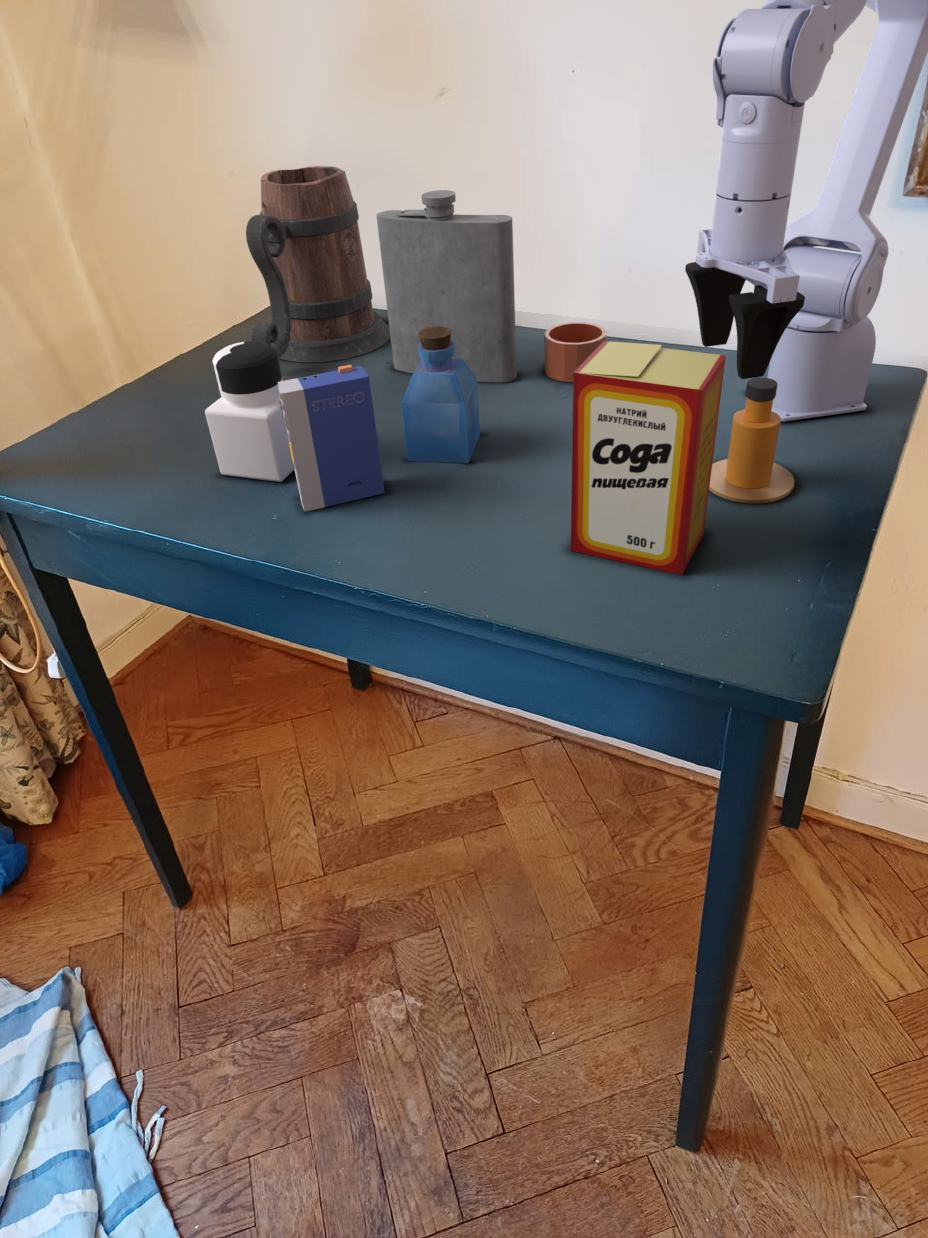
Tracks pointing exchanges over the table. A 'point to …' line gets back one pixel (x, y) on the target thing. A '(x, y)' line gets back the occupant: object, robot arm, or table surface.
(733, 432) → the bottle
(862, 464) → the table surface
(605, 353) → the baking soda box
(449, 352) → the perfume bottle
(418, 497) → the table surface
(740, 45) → the robot arm
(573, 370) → the cup
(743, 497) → the coaster
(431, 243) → the hip flask
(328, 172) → the tankard
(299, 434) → the walkman
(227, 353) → the medicine bottle
